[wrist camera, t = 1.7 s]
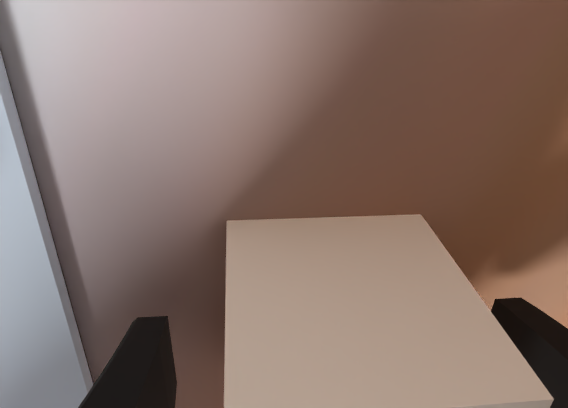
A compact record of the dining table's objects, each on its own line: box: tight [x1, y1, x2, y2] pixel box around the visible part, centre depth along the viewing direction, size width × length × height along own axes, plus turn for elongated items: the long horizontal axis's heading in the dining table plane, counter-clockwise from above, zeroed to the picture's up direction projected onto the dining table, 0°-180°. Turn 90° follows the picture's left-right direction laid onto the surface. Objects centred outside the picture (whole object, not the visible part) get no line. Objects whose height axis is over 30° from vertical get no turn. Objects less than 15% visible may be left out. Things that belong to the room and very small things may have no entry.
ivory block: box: [224, 214, 554, 408], centre depth 9 cm, size 4×4×5 cm
